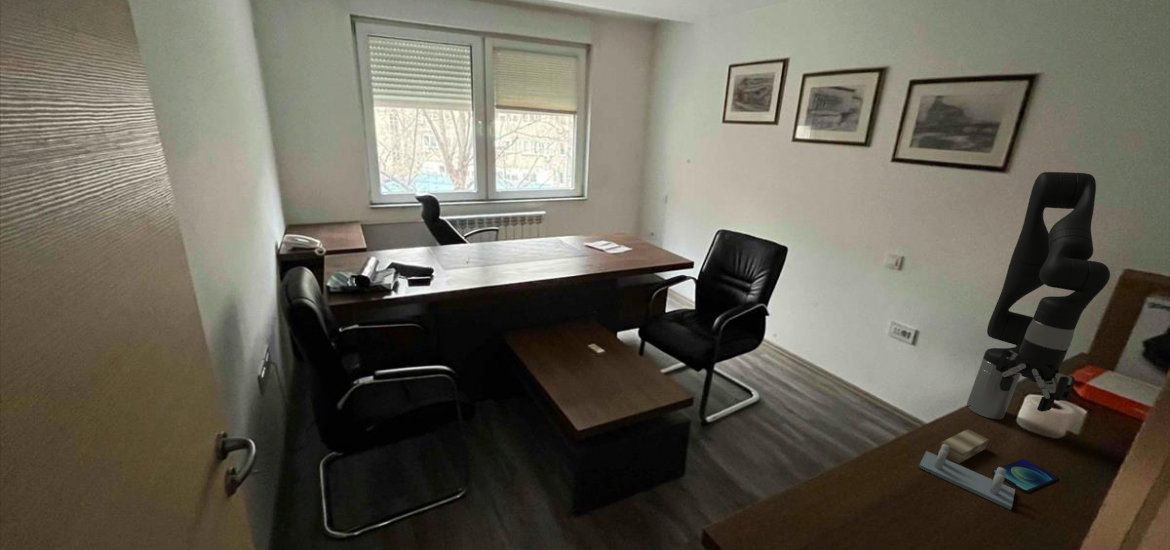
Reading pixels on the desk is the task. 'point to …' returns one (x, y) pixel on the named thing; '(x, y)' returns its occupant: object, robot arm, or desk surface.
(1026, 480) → the smartphone
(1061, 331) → the robot arm
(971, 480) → the peg rack
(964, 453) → the birch plank
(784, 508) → the desk surface
